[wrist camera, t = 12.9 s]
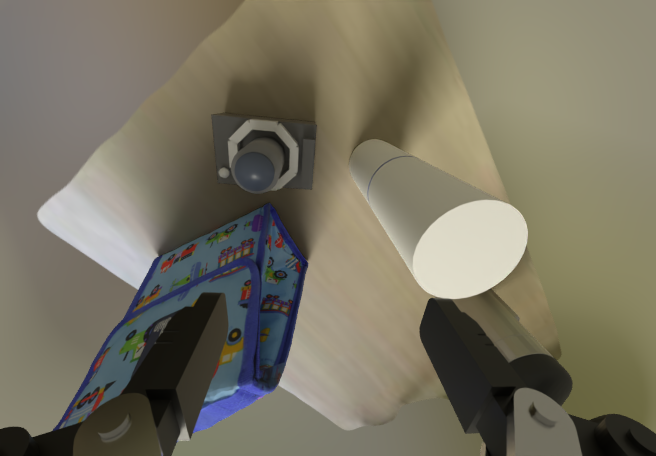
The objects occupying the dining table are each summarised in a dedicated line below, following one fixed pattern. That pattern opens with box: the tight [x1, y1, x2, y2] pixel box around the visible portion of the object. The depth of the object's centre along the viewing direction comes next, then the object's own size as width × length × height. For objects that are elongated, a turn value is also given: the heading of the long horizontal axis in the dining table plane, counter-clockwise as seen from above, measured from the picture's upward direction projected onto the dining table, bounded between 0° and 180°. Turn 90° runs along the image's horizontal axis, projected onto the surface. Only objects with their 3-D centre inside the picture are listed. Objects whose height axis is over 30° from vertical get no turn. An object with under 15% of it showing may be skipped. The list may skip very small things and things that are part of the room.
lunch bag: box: [53, 203, 308, 442], centre depth 30 cm, size 22×14×29 cm, turn 115°
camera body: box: [211, 113, 317, 191], centre depth 33 cm, size 12×8×7 cm, turn 84°
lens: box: [231, 136, 285, 194], centre depth 27 cm, size 4×4×9 cm
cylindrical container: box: [349, 139, 528, 299], centre depth 27 cm, size 7×7×25 cm
